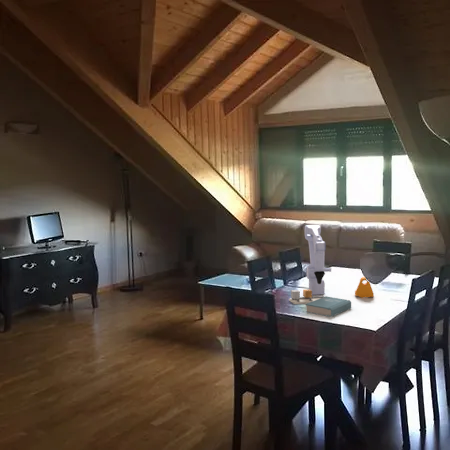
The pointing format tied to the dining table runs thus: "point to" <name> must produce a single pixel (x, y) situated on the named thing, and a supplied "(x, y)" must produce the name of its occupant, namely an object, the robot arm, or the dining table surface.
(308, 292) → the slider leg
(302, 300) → the pitch plate
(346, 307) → the book
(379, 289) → the dining table surface
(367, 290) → the bracket
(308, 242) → the robot arm
